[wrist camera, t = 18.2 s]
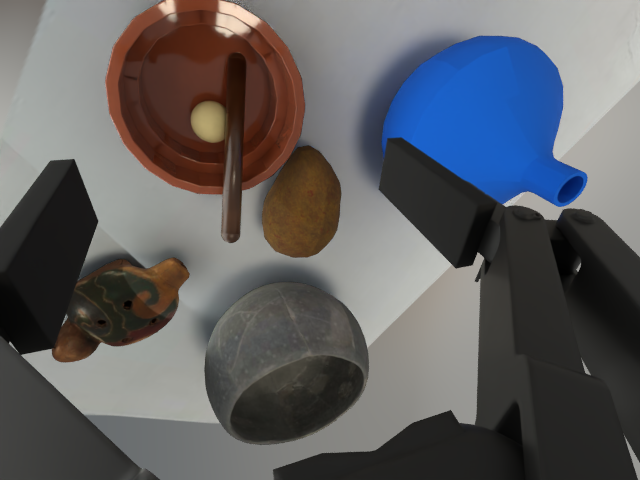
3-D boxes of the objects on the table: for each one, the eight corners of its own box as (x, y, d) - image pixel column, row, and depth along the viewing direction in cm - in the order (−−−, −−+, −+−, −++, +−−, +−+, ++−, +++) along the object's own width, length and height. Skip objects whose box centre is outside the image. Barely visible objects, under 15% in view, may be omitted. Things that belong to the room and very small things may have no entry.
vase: (441, 202, 49) (553, 291, 34) (333, 168, 40) (420, 268, 26) (524, 71, 41) (715, 113, 26) (411, -7, 33) (602, -7, 18)
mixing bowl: (82, 95, 29) (62, 116, 24) (190, -54, 26) (192, -65, 21) (222, 192, 38) (229, 222, 33) (315, 89, 35) (338, 106, 30)
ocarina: (35, 295, 38) (6, 349, 31) (148, 216, 38) (143, 254, 31) (107, 339, 43) (96, 392, 37) (206, 270, 43) (212, 311, 37)
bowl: (266, 371, 58) (287, 465, 47) (166, 323, 46) (161, 435, 34) (360, 300, 56) (407, 381, 44) (282, 227, 43) (319, 314, 31)
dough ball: (219, 118, 34) (194, 142, 33) (203, 87, 31) (174, 112, 30) (245, 130, 33) (219, 156, 31) (231, 98, 29) (202, 125, 28)
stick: (242, 47, 29) (235, 243, 29) (249, 57, 31) (242, 243, 31) (224, 48, 29) (217, 242, 29) (232, 58, 31) (225, 242, 31)
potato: (351, 163, 41) (385, 196, 34) (301, 241, 45) (322, 284, 38) (291, 130, 36) (317, 162, 30) (242, 220, 41) (254, 266, 34)
